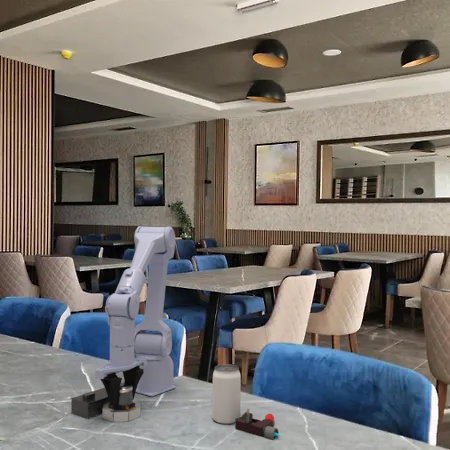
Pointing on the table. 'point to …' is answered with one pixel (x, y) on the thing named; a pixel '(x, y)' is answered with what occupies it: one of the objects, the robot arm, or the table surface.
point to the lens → (125, 397)
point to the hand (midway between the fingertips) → (121, 402)
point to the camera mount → (102, 407)
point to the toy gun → (257, 425)
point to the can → (226, 394)
